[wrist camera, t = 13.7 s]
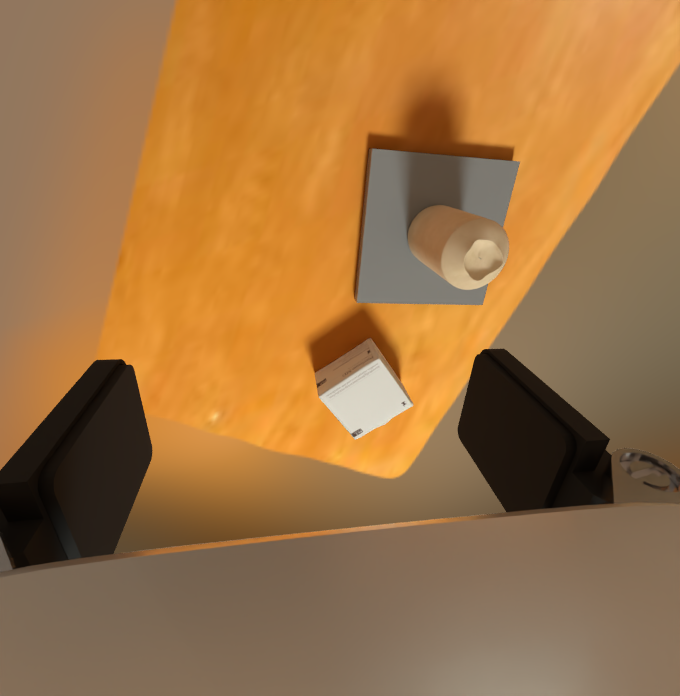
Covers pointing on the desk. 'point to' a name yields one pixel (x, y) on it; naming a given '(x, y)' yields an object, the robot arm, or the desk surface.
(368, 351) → the small box
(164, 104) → the desk surface
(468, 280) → the candle
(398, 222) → the slate coaster
